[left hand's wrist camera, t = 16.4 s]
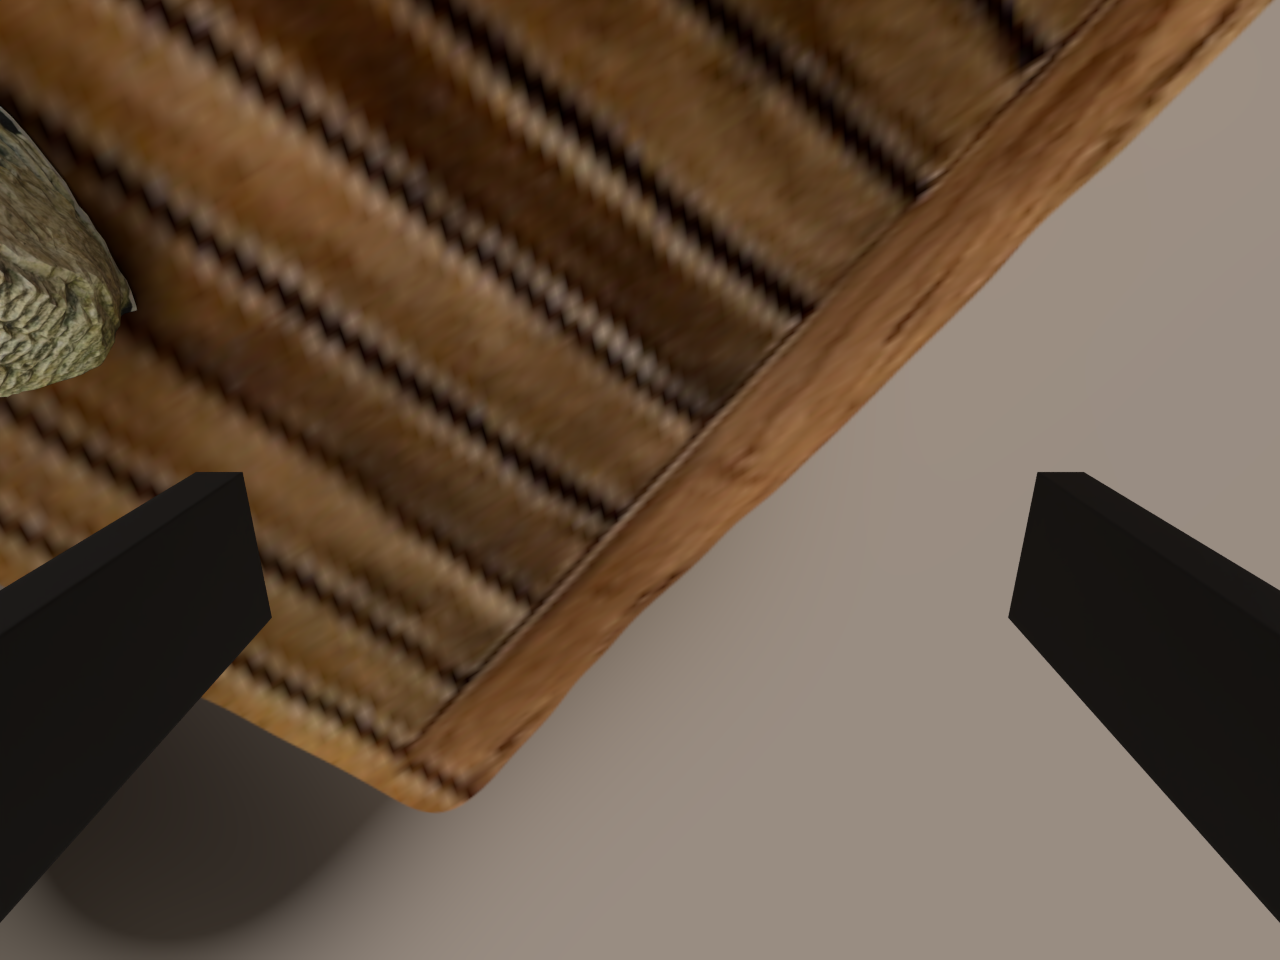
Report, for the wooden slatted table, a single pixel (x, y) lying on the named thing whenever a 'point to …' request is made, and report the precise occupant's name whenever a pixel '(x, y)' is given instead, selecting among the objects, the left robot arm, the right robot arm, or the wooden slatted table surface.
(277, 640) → the wooden slatted table surface
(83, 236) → the fossil
